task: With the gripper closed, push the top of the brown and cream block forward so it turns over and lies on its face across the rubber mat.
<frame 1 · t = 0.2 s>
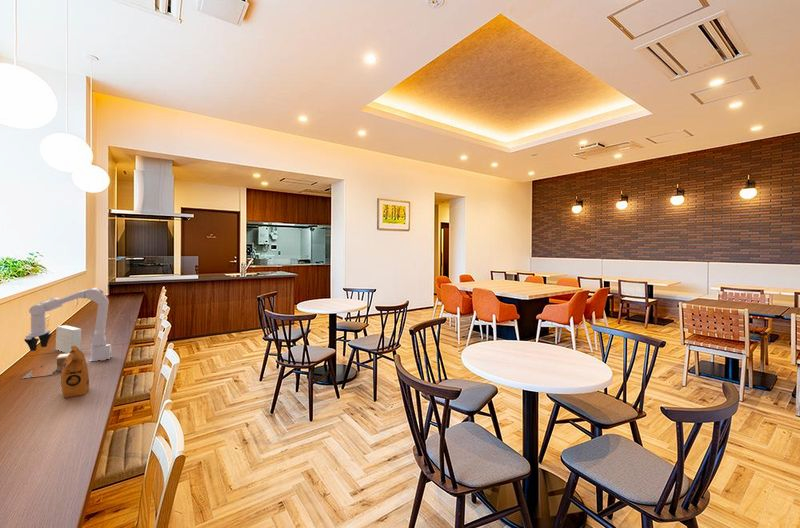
hand: (38, 348, 195), 10 cm above the table, tool pointing down, fingers open, 7 cm apart
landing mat: (43, 371, 188), on the table
coffee package: (74, 393, 163), on the table
brown and cream block: (63, 369, 192), on the table
skincare box: (68, 351, 223), on the table
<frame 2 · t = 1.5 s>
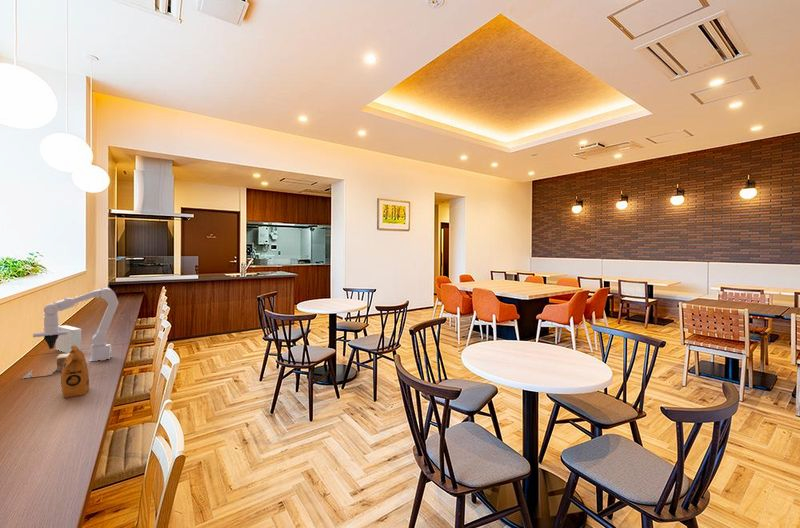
hand: (51, 348, 195), 10 cm above the table, tool pointing down, fingers closed
nothing on the table moved.
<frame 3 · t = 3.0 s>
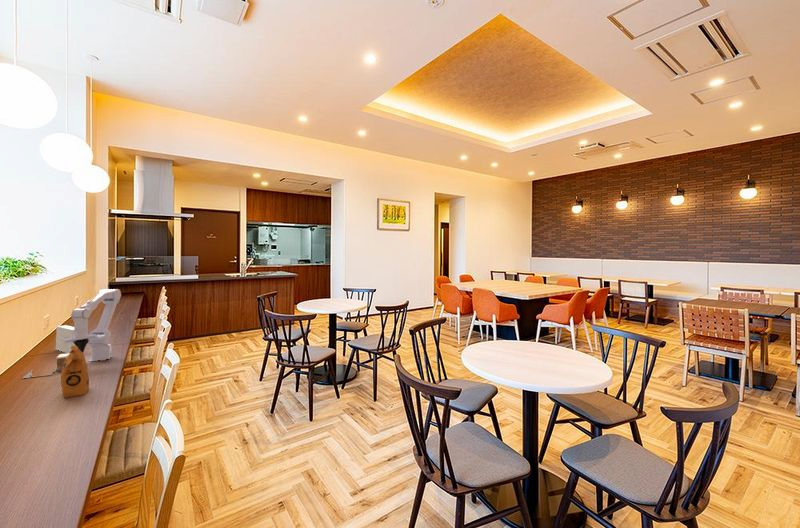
hand: (81, 352, 195), 8 cm above the table, tool pointing down, fingers closed
nothing on the table moved.
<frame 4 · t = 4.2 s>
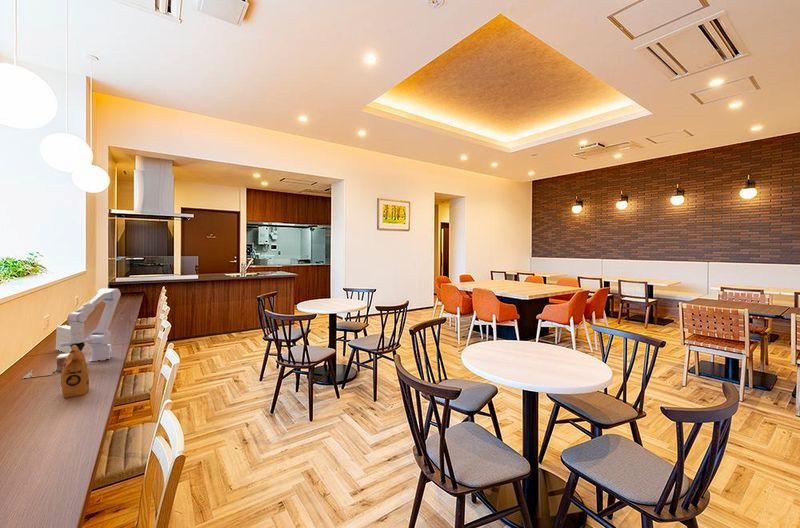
hand: (77, 356, 195), 6 cm above the table, tool pointing down, fingers closed
nothing on the table moved.
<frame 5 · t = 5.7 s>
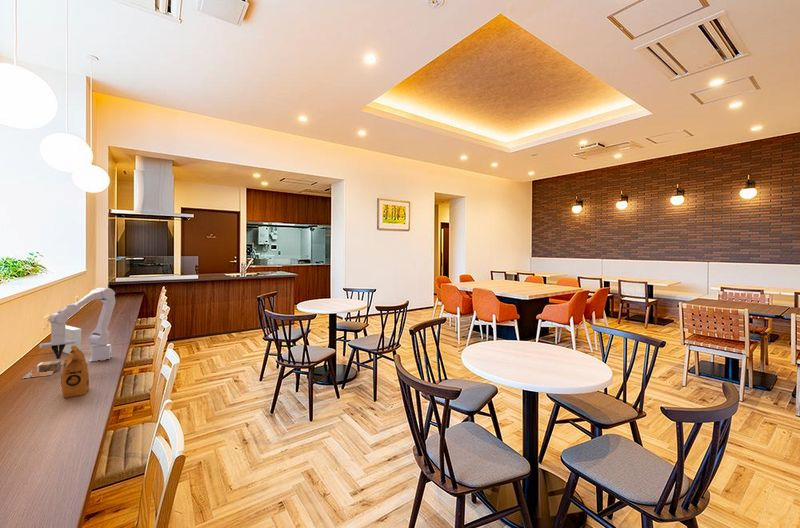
hand: (58, 358, 190), 6 cm above the table, tool pointing down, fingers closed
brown and cream block: (59, 365, 191), point 2 cm above the table, tilted 90°, touching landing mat
everything else where it was.
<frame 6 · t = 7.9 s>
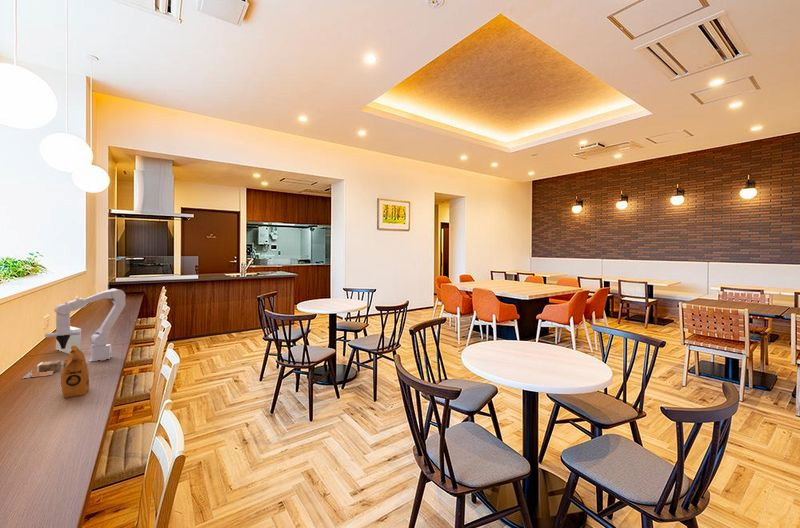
hand: (63, 348, 196), 10 cm above the table, tool pointing down, fingers closed
nothing on the table moved.
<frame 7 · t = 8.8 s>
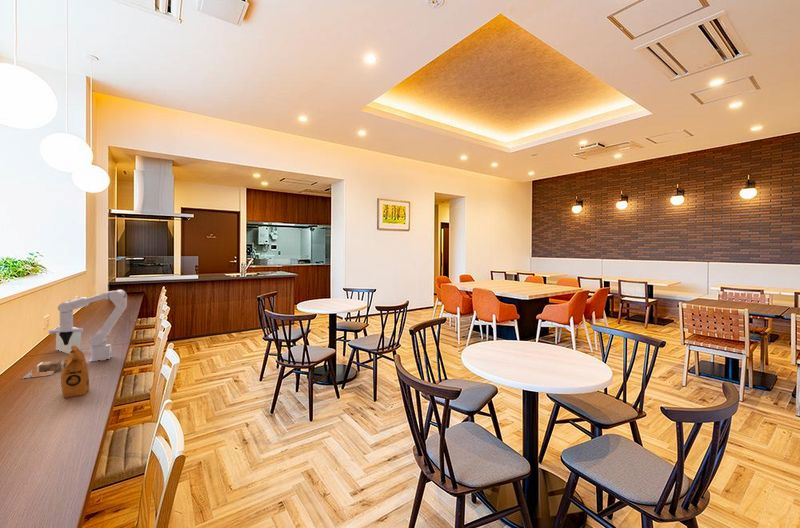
hand: (66, 344, 203), 10 cm above the table, tool pointing down, fingers closed
nothing on the table moved.
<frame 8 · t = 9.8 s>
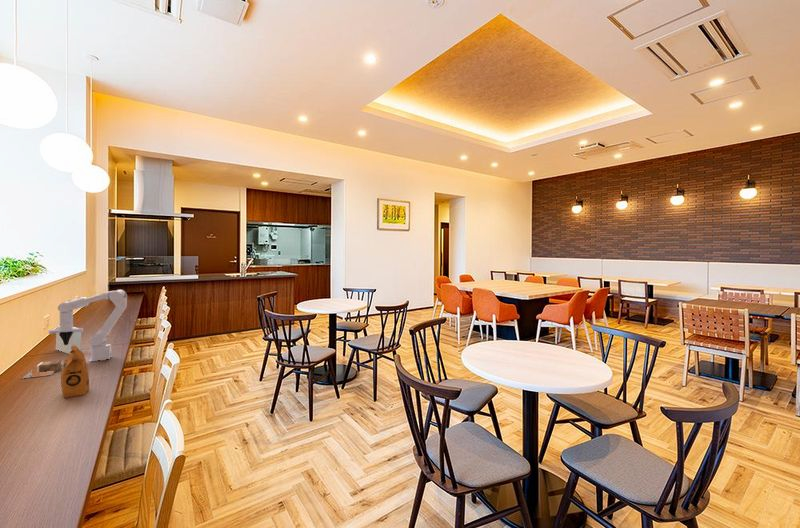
hand: (66, 344, 203), 10 cm above the table, tool pointing down, fingers closed
nothing on the table moved.
at the end: brown and cream block tilted 90°; brown and cream block touching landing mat; brown and cream block inside the target area (0.8 cm from its centre), point 2.4 cm above the table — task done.
